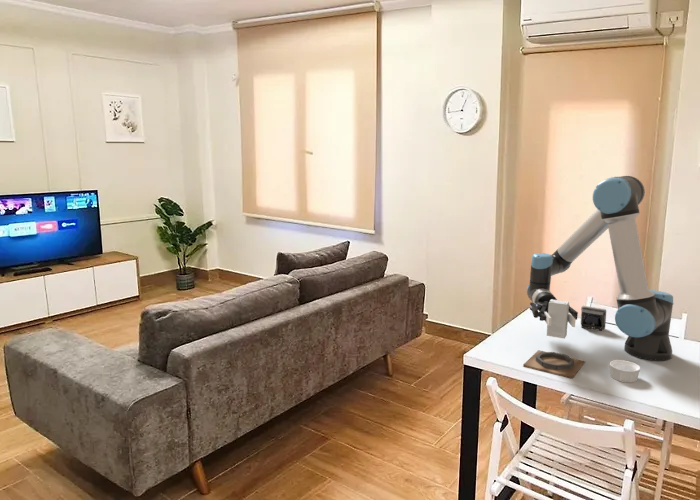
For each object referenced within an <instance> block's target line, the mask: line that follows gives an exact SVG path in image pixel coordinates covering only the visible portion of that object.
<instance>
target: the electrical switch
mask: <svg viewBox="0 0 700 500" xmlns="http://www.w3.org/2000/svg"><path fill="white" fill-rule="evenodd" d="M606 321H607V309H605V308H600V307H595V306H587V305H582V306H581V315H580V326H581V329H582V328H583V329H588V330H593V331H598V330H599V332H602V331H603V330H605V329H606Z"/></svg>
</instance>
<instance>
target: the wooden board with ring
mask: <svg viewBox="0 0 700 500" xmlns="http://www.w3.org/2000/svg"><path fill="white" fill-rule="evenodd" d="M585 363H586V361H585V360H583V359H578V358H574V357H570V356H568V355H567V354H564V353H561V352H555V351H543V350H539V349H538V350H537V351H535V353H533V355H532V356H531V357H529V358H528V359H527V360H526V362H524V363H523V367H525V368H529V369H533V370H537V371H541V372H544V373H549V374H553V375H557V376H561V377H564V378H569V379H574V378H575V376H576V374H577V373H578V372H579V371H580V369H581V368H582V367H583V366H584V365H585Z"/></svg>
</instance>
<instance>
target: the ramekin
mask: <svg viewBox="0 0 700 500" xmlns="http://www.w3.org/2000/svg"><path fill="white" fill-rule="evenodd" d="M640 371H641V366H640V365H639V364H638V363H635V362H633V361H628V360H624V359H622V360H621V359H614V360H612V361H610V362H609V375H610V377H611V378H612V379H614V380H615V381H618V382H622V383H628V384H629V383H635V382H637V381H638V379H639V374H640Z"/></svg>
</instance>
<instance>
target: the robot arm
mask: <svg viewBox="0 0 700 500" xmlns="http://www.w3.org/2000/svg"><path fill="white" fill-rule="evenodd" d="M645 190H646V189H645V185H644V184H643V183H642V181H641V180H639V179H638V178H637V177H635V176H631V175H622V176H611V177H609V178H605V179H603V180H602V181H600V182H599V183H598V184H597V185H596V186H595V188H594V190H593V193H592V204H593V205H594V207H595V208H596V210H595V211H594V212H593V213H592V214H591V215H590V216H589V217H588V218H587V219H586V220H585V221H584V222H582V224H581V225H580V226H579V227H578V228H577V229H576V230H575V231H574V232H573V233H572V234H571V235H570V236H569V237H568V238H567V239H566V240H565V241H564V242H563V243H562V244H561V245H560V246H559V247H558V248H557V249H556V250H555V251H554V252H553V253H552V254H549V253H545V252H535V253H534V254H532V256H531V261H530V273H529V274H530V275H529V283H528V286H527V287H526V294H527V297H528V298H529V300H530V301H531V302H529V310H530V311H531V313H532V316H533V317H534V318H535V319H537V318H539V321H542V322H543V321H544V322H545V323H546V324H547V325H548V326H551V317H550V316H549V314H548V307H549V301H550V300H551V299H553V300H558V299H557V298H556V297H555V296H554V294H553V293H552V292H551V282H552V281H551V280H552V276H556V275H558V274H561V273H565V272H566V271H568V270H569V269H570V267H571V265H572V263H573V262H574V261H575V260H576V259H577V258H579V256H580V255H581V254H583V253H584V252H585V251H586V250H587V249H588V248H589V247H590V246H591V245H592V244H593V243H595V241H596V240H597V239H599V238H600V237H601V236H602V235H603V234H604V233H605V232H606V231H607V230H608V233H609V234H608V235H609V239H610V244H611V249H612V255H613V256H612V257H613V260H614V261H613V262H614V265H615V266H614V267H615V271H616V272H615V273H616V277H617V282H618V288H619V294H618V295H617V296H616V304H617V310H616V312H615V315H614V321H615V324H616V327H617V328H618V329H619V330H620V332H622V333H623V334H624V335H626V336H627V338H626V340H625V342H624V347H623V348H624V349H623V350H624V351H625V352H626V353H628V354H629V355H631V356H633V357H636V358H638V359H639V358H640V359H643V360H648V361H657V362H658V361H662V362H663V361H668V360H671V359H672V357H673V348H672V344H671V340H670V330H671V329H670V328H671V321H672V314H673V306H674V296H673V295H672V294H671V293H669V292H664V291H661V290H656V289H655V290H654V289H649V286H648V279H647V274H646V268H645V263H644V259H643V258H644V257H643V254H642V253H643V252H642V247H641V243H640V237H639V231H638V226H637V220H636V219H637V217H638V216H639V215H640V208H639V205H640V204H641V203H642V202H643V200H644V197H645V193H646V191H645ZM578 315H579V312H578V311H576V309H574V308H573V307H571V306H570V305H569V310H568V323H569V325H571V328H575V327H576V321H577V320H578Z"/></svg>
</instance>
